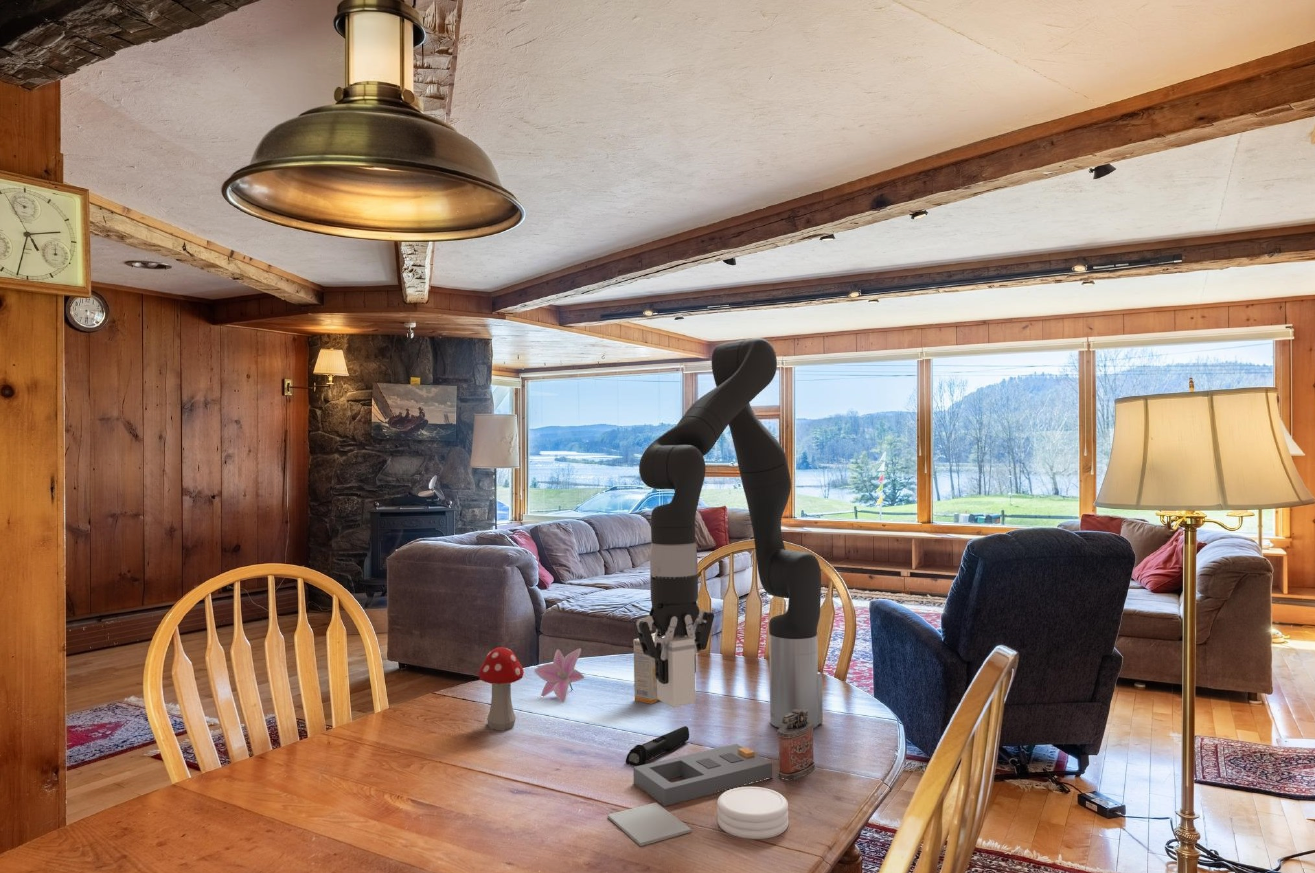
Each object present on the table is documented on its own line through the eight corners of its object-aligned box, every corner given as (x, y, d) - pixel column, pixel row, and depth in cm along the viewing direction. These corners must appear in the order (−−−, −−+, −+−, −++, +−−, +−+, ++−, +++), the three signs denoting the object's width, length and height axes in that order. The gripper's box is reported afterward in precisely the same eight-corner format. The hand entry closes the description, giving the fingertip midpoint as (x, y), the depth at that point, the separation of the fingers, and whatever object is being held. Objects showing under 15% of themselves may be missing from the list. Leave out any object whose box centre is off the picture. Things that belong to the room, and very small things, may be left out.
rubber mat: (655, 805, 121) (655, 802, 121) (691, 831, 112) (691, 828, 112) (607, 817, 117) (607, 814, 117) (640, 846, 108) (640, 843, 108)
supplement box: (655, 691, 179) (655, 631, 179) (673, 694, 176) (672, 634, 177) (633, 700, 172) (632, 638, 173) (651, 704, 170) (650, 641, 170)
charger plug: (678, 694, 131) (677, 632, 131) (695, 702, 126) (694, 638, 127) (656, 698, 129) (655, 635, 129) (673, 707, 124) (672, 641, 125)
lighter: (802, 762, 137) (801, 703, 137) (819, 767, 134) (818, 707, 135) (773, 776, 131) (772, 714, 131) (790, 782, 129) (789, 718, 129)
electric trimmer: (695, 744, 147) (695, 727, 148) (640, 769, 135) (640, 750, 135) (678, 740, 150) (678, 723, 150) (623, 764, 138) (623, 745, 138)
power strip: (736, 758, 139) (736, 739, 139) (772, 778, 130) (772, 758, 130) (633, 782, 129) (633, 762, 129) (665, 806, 120) (664, 784, 120)
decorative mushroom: (530, 729, 155) (529, 650, 155) (485, 736, 151) (485, 655, 152) (515, 714, 164) (515, 640, 164) (473, 721, 160) (472, 645, 161)
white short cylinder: (703, 824, 115) (702, 799, 115) (747, 802, 122) (747, 779, 122) (759, 848, 108) (758, 821, 108) (802, 823, 115) (802, 798, 115)
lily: (533, 694, 182) (522, 661, 178) (577, 667, 187) (568, 635, 183) (557, 723, 173) (546, 690, 168) (603, 694, 178) (594, 661, 173)
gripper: (699, 564, 135) (700, 668, 134) (623, 572, 128) (624, 681, 127) (724, 570, 128) (726, 679, 128) (646, 578, 121) (647, 693, 121)
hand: (675, 679), depth 128 cm, fingers closed on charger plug, 4 cm apart
